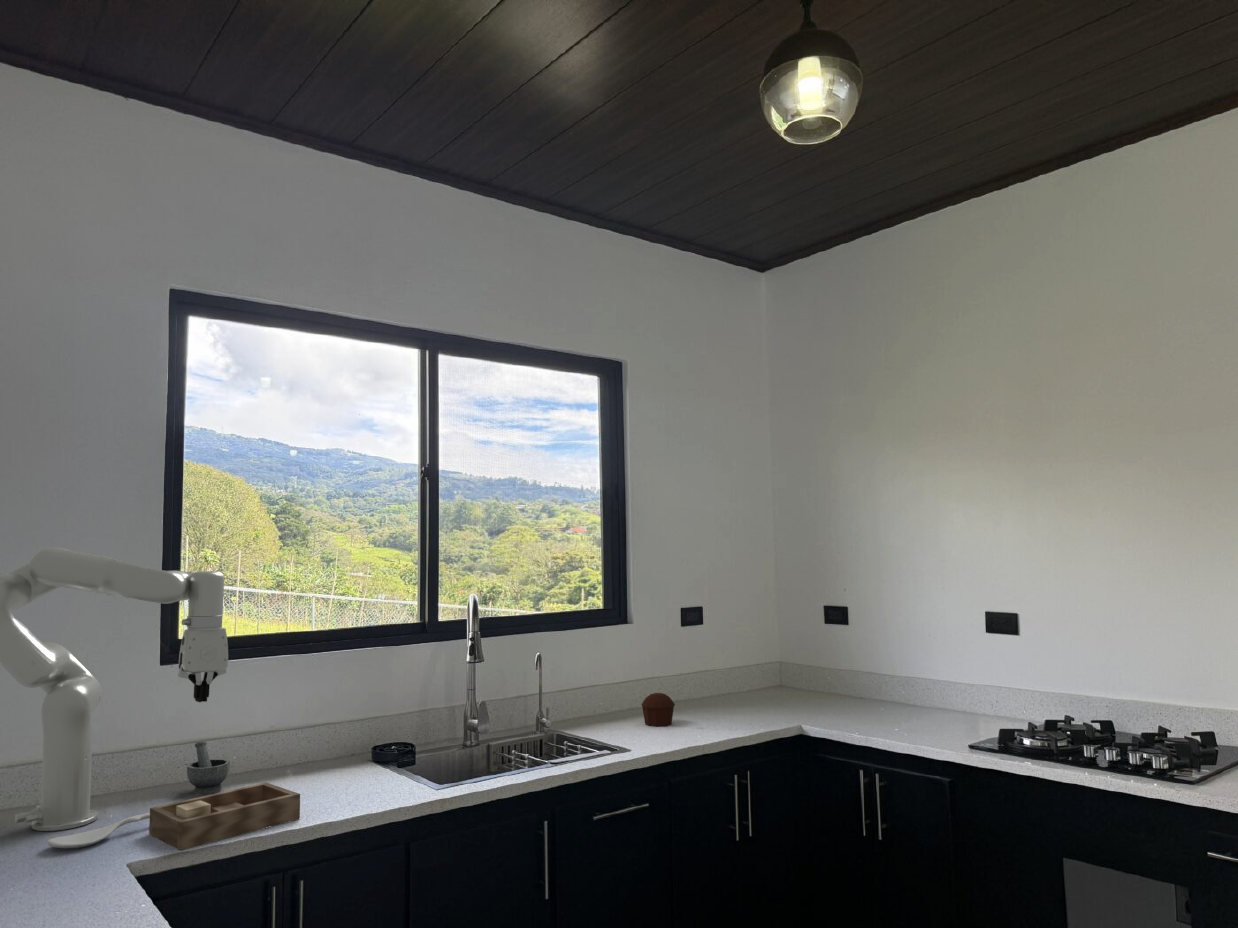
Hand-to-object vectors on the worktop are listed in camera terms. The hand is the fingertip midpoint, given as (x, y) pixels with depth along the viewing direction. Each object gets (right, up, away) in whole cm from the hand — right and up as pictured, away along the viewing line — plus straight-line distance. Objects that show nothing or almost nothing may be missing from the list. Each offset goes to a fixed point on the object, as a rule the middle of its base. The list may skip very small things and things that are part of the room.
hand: (201, 700), depth 210 cm
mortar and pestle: (-5, -27, +14) cm, 30 cm away
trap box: (+13, -23, -16) cm, 31 cm away
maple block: (+10, -20, -24) cm, 32 cm away
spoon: (-6, -24, -18) cm, 31 cm away
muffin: (+113, -31, +85) cm, 145 cm away
